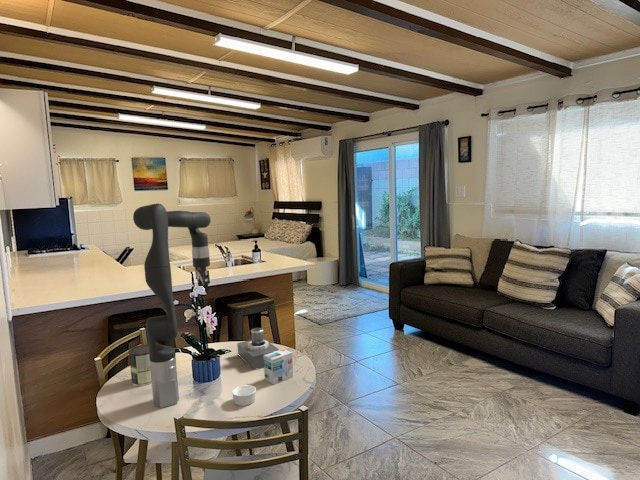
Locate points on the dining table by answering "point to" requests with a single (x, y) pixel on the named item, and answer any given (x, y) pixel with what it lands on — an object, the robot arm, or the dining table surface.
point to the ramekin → (244, 395)
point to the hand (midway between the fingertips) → (203, 290)
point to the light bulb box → (278, 366)
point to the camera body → (255, 352)
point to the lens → (257, 336)
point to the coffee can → (140, 365)
